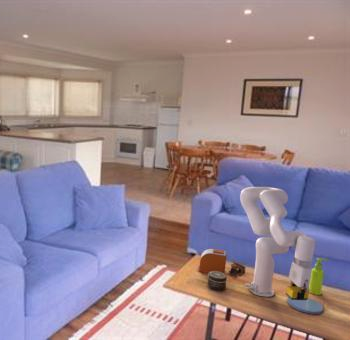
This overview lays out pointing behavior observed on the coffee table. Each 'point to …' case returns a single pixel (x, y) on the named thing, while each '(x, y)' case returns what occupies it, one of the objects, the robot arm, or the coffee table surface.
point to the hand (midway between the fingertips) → (296, 296)
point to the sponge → (295, 292)
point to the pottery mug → (236, 272)
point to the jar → (217, 280)
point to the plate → (306, 305)
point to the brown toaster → (213, 261)
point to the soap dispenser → (316, 277)
